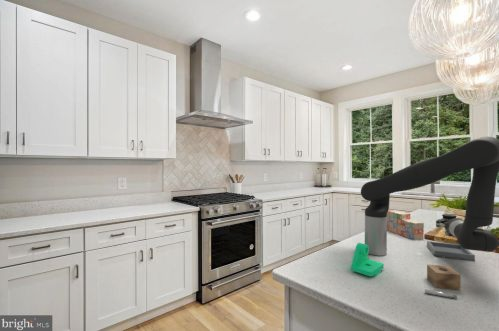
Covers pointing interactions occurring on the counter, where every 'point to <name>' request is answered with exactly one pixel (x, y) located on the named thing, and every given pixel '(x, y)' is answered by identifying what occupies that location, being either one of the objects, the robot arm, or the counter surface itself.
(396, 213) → the stack of blocks
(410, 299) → the counter surface
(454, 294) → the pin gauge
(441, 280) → the block
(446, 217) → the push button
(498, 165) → the robot arm
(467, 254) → the tray
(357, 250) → the camera mount
